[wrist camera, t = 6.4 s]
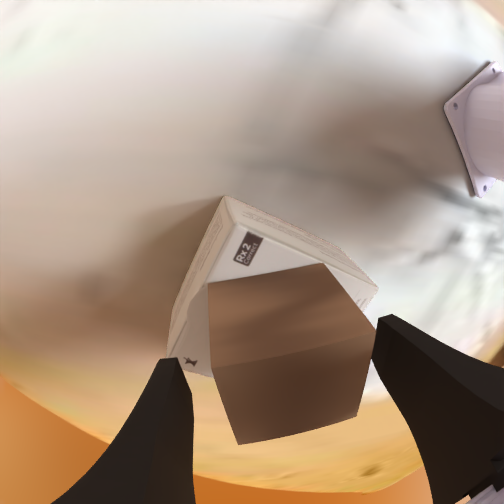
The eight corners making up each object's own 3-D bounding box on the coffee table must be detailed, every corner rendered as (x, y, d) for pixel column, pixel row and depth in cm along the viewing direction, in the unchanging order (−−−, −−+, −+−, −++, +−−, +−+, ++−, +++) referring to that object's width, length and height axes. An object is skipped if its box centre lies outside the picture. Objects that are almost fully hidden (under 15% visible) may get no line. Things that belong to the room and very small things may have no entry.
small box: (279, 341, 19) (298, 398, 15) (169, 306, 17) (160, 366, 12) (341, 246, 17) (384, 289, 12) (223, 189, 15) (230, 219, 10)
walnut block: (323, 262, 11) (376, 330, 7) (321, 346, 13) (356, 416, 9) (207, 283, 11) (210, 368, 7) (227, 365, 13) (238, 444, 9)
